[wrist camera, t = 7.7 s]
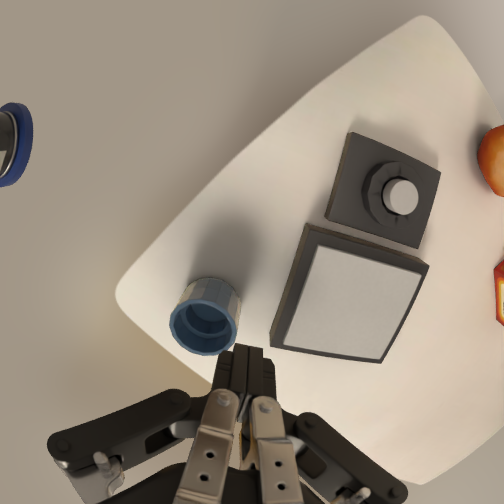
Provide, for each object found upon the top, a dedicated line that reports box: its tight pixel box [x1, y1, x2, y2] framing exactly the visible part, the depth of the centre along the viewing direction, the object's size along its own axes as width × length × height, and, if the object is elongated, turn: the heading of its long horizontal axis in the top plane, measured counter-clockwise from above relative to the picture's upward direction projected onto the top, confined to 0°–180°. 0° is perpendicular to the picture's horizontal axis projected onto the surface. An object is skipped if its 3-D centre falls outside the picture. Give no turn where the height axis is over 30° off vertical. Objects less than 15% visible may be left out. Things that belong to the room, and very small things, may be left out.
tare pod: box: [324, 132, 441, 249], centre depth 22 cm, size 10×8×3 cm
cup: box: [169, 278, 241, 356], centre depth 25 cm, size 6×6×5 cm
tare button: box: [383, 179, 418, 215], centre depth 20 cm, size 3×3×2 cm
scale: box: [270, 224, 429, 364], centre depth 25 cm, size 13×12×3 cm
